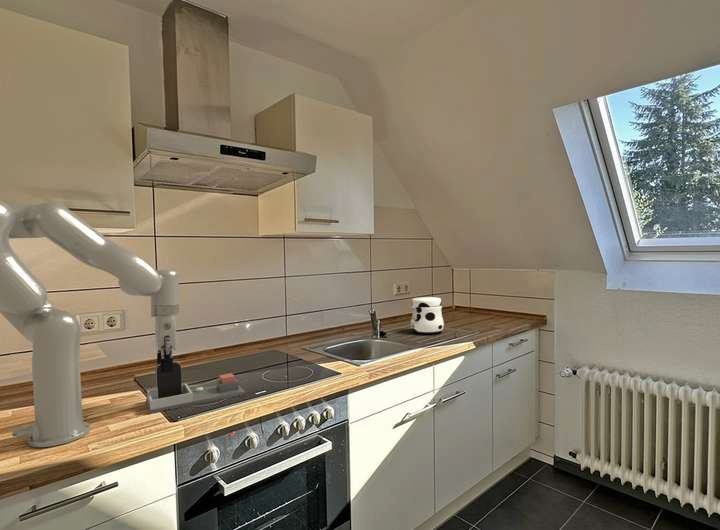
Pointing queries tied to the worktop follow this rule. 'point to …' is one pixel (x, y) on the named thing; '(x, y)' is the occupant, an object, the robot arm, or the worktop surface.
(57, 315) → the robot arm
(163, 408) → the charging dock
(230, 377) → the red cube
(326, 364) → the worktop surface
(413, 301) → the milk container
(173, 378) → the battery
